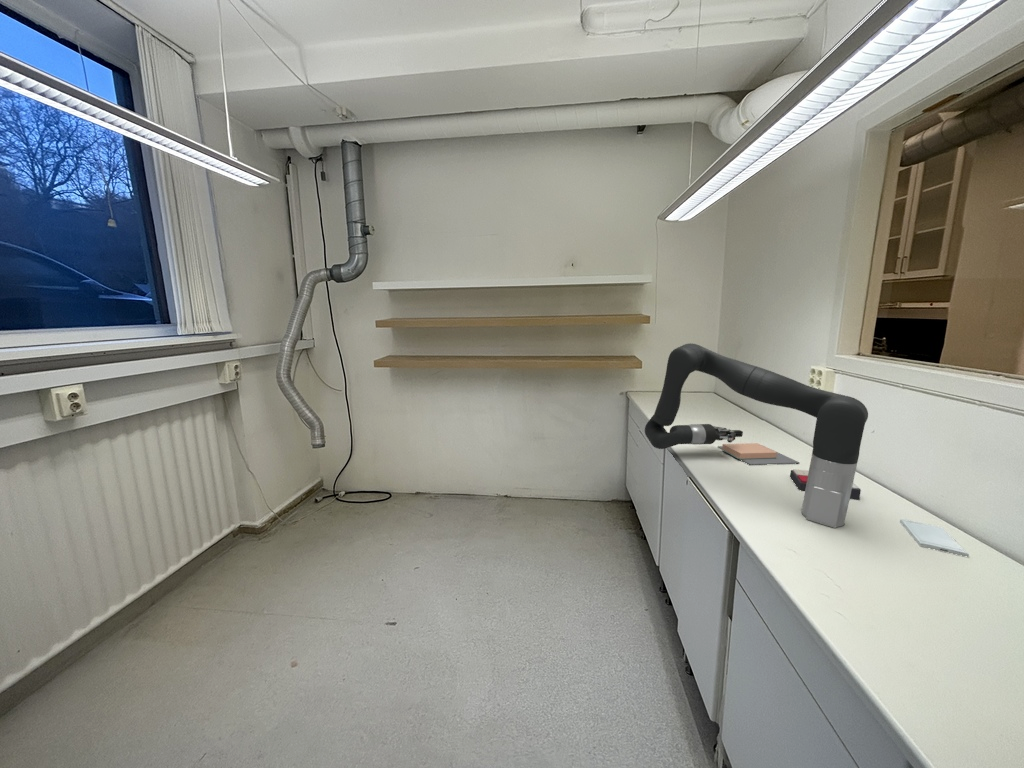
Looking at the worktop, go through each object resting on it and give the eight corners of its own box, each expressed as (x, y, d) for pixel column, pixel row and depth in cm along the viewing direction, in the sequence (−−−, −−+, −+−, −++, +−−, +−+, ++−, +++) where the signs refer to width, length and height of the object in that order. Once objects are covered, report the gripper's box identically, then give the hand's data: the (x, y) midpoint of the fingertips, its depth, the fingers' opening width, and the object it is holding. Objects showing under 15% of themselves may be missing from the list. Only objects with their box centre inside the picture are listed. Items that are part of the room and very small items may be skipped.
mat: (749, 465, 139) (749, 464, 139) (717, 447, 156) (717, 446, 156) (799, 463, 142) (799, 462, 142) (762, 446, 159) (762, 445, 159)
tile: (740, 453, 142) (777, 452, 144) (722, 443, 152) (757, 443, 154) (739, 459, 143) (776, 458, 145) (721, 449, 152) (756, 449, 154)
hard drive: (900, 518, 103) (920, 542, 92) (943, 527, 99) (969, 553, 88) (899, 524, 103) (919, 548, 93) (942, 533, 100) (967, 559, 89)
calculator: (790, 467, 130) (846, 473, 124) (789, 479, 130) (844, 485, 125) (800, 480, 120) (861, 487, 114) (799, 493, 120) (859, 501, 115)
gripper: (711, 430, 137) (755, 429, 139) (689, 419, 150) (730, 418, 152) (708, 450, 138) (752, 449, 141) (687, 437, 151) (728, 437, 153)
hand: (741, 433), depth 146 cm, fingers closed
